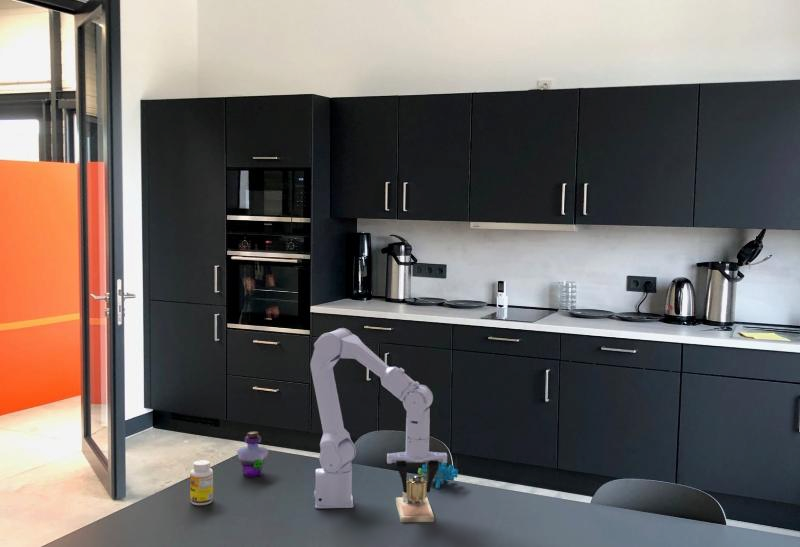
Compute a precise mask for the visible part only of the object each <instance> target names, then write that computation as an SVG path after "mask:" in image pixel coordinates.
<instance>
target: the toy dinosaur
mask: <svg viewBox="0 0 800 547" xmlns="http://www.w3.org/2000/svg"><path fill="white" fill-rule="evenodd" d="M440 463H441V464H440ZM438 464H439V468H438V471H437V472H436V474H435V476H434V478H433V480H435V481H436V482H435V489H438V490H439V489H440V486H441V481H442V482H446V481H448V480H450V481H453V480H454V478H456V479H457V478H458V475H459V474H458V473H459V469H457V468H455V465H452V464H449V466H447V463H443V462H438ZM418 474H419V475H420V476H421V479H424V480H426V477H427V465H426V464H422V467H418V470H417V475H418Z"/></svg>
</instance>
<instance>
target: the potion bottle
mask: <svg viewBox="0 0 800 547" xmlns="http://www.w3.org/2000/svg"><path fill="white" fill-rule="evenodd" d="M261 442H262V437H261V436H260V435H259V431H249V432H247V433H246V436H245V437H244V443H246V444H247V446H244V447H243V446H242V447H240V448H239V449H238V450H237V451H236V452H237V457H238V461H239V463H240V466H241V467H240V468H241V472H242V476H243V477H244V478H249V479H255V478H260V477H261V476H262V475H263V474H264V473H263V471H264V468H265V463H266V462H265V461H267V458H268V454H269V449H268V448H266V447H265V446H260V445H259V443H261ZM261 474H262V475H261ZM260 475H261V476H260Z"/></svg>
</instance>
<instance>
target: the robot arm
mask: <svg viewBox="0 0 800 547" xmlns="http://www.w3.org/2000/svg"><path fill="white" fill-rule="evenodd" d="M313 347H314V349H313V353H312V357H311V359H310V371H311V377H312V381H313V382H312V383H313V387H314V392H315V396H316V402H317V409H318V412H319V418H320V423H321V429H322V436H321V439H320V443H319V447H320V452H319V456H318V462H319V463H320V466H321V467H320V468H316V469H315V488H314V489H315V490H314V491H313V498H314V499H315V500H314V501H315V502H314V504H315V505H314V507H315V509H350V508H351V509H352V508H354V500H353V499H354V497H353V495H352V488H353V487H352V485H353V483H352V482H353V481H352V480H353V479H352V477H353V465H352V461H353V460H354V458H355V456H356V455H357V450H356V449H357V448H356V446H355V443H354V442H353V440H352V439H351V436H350V432H348V431H347V429H346V428H345V427H344V420H343V415H342V410H341V405H340V400H339V394H338V389H337V384H336V379H335V374H334V367H335V365H336V364H337V362H338V361H339V360H340V359H353V360H356V361H357V362H359V363H360V364H361V365H363V366H364V367H366V368H367V369H368V370H370V371H371V372H373V373H374V374H375V375H376V376H378V377H379V378H380V384H381V385H382V387H383V388H385V389H386V390H387V391H388V392H390V393H391V394H392V395H393V396H395V397H396V398H397V399H398V400H399V401H400V402H402V405H403V408H404V410H405V411H406V418H405V421H406V422H405V451H400V452H399V451H398V452H392V453H391V452H390V453H389V452H388V453H387V454H386V462H387V464H389V465H390V464H392V463H393V464H394V463H395V466H396V469H397V471H398V473H399V477H400V479H401V484H402V490H403V491H402V493H403V492H404V493H407V482H406V481H407V476H408V474H407V473H408V467H407V463H425V465H427V477H426V479H425V481H427V493H430V492H431V486H432V483H433V480H434V479H433V478H434V476H435V474H436V472H437V471H438V468H439V464H440V463H442V462H443V463H446V464H447V463H448V454H447V452H437V451H436V452H435V451H430V425H431V424H430V421H431V418H430V416H431V415H430V411H431V410H430V409H431V408H430V407H431V405H432V403H433V401H434V395H433V394H434V393H433V392H432V390H431V389H430V388H429V386H427V385H425V384H420V382H419V381H417V380H416V381H415V380H413V379H412V378H411V377H410V376H409V375H407V374H406V373H405V369H404V368H402V367H398V366H389V365H388V364H387V363H386V362H384V361H383V360H382V359H381V358H380V357H379V356H378V355H377V354H376V353H374V352H373V351H372V349H370V348H369V347H368V346H367V345H365V343H364V342H362V340H361V339H360V338H359V336H357V335H356V334H354V333H352V332H351V331H350V330H349V329H347V328H344V327H341V328H337V329H335V330H332V331H330V332H325V333H323V334H321V335H320V336H319V337H318V338H317V339H316V341H315V342H314V344H313ZM438 463H439V464H438Z"/></svg>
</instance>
